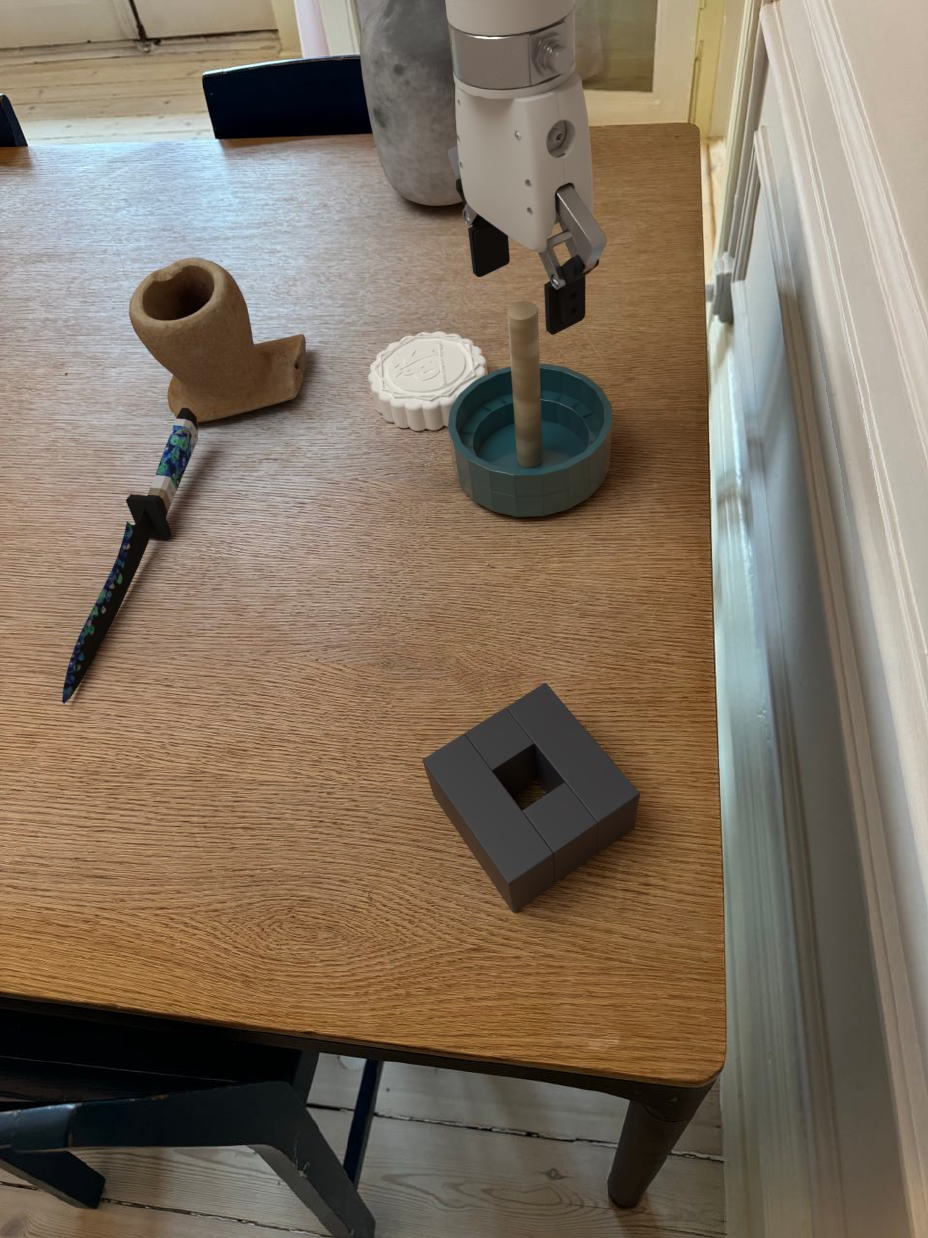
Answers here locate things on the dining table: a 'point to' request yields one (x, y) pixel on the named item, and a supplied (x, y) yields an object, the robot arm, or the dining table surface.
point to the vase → (412, 97)
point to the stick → (526, 381)
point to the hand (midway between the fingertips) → (527, 296)
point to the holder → (553, 825)
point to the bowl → (568, 443)
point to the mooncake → (424, 378)
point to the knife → (135, 545)
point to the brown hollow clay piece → (212, 342)
